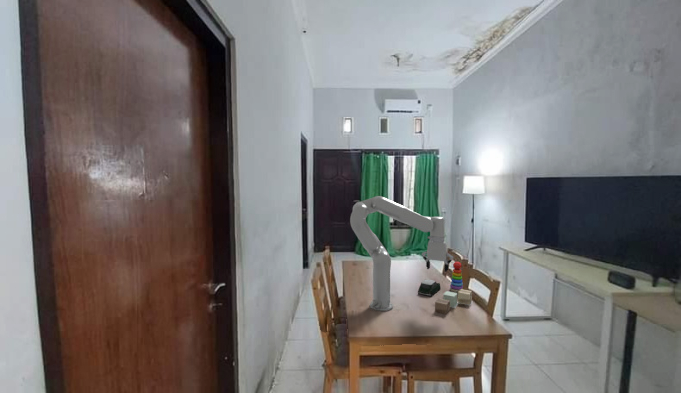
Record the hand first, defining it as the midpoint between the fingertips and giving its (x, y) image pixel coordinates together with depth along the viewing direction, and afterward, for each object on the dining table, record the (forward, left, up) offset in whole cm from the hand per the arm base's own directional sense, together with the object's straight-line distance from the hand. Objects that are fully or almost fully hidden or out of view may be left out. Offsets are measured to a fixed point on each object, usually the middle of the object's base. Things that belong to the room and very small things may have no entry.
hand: (437, 269), depth 169 cm
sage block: (+5, -6, -20) cm, 21 cm away
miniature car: (+18, +10, -21) cm, 30 cm away
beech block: (+13, -12, -20) cm, 27 cm away
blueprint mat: (+9, -11, -21) cm, 25 cm away
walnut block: (-6, -5, -21) cm, 22 cm away
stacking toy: (+30, -3, -21) cm, 37 cm away
